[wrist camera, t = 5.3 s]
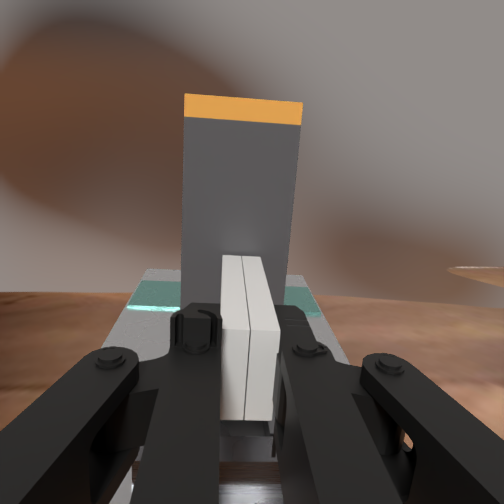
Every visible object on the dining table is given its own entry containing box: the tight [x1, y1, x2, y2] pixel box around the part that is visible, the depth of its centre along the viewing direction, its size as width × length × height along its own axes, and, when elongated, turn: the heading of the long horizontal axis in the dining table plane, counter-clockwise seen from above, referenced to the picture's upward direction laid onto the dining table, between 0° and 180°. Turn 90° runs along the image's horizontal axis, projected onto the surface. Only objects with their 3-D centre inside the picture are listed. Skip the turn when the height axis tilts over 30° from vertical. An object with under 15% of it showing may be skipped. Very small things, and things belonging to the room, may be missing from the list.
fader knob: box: [180, 94, 303, 310], centre depth 19 cm, size 4×4×13 cm
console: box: [101, 269, 350, 504], centre depth 25 cm, size 24×14×3 cm, turn 3°
